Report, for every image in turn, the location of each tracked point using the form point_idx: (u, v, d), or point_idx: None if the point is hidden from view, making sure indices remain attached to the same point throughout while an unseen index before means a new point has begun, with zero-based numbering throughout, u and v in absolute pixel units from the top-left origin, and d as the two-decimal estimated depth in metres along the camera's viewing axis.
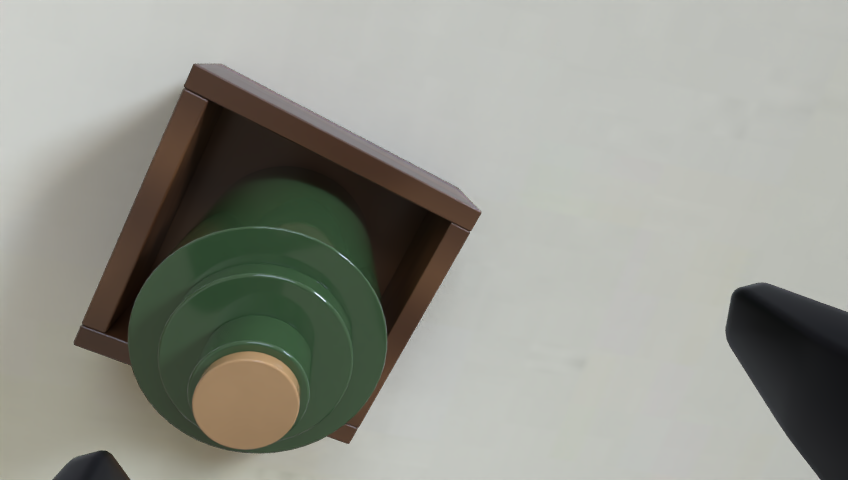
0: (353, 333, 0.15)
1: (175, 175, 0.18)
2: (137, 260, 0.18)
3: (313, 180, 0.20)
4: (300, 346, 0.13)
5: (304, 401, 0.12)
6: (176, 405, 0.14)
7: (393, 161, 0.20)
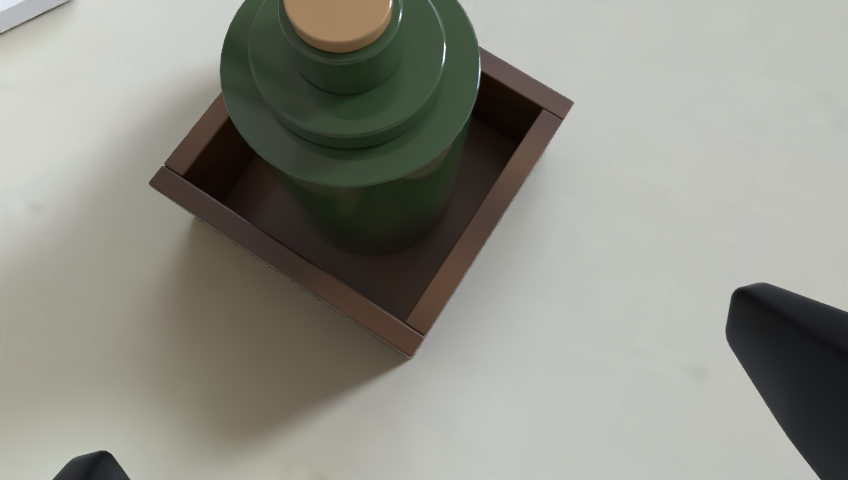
0: (446, 60, 0.14)
1: None
2: None
3: None
4: None
5: (395, 20, 0.12)
6: (254, 80, 0.13)
7: None
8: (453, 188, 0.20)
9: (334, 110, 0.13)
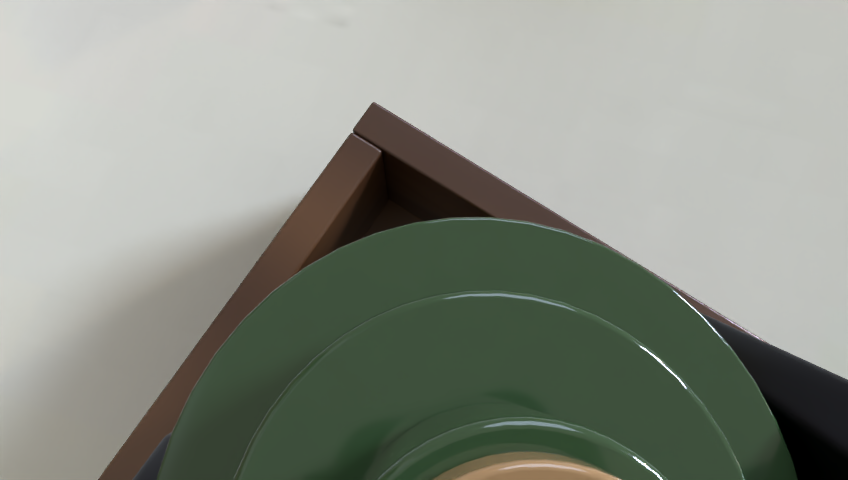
0: None
1: (309, 255, 0.11)
2: None
3: None
4: None
5: None
6: None
7: None
8: None
9: None
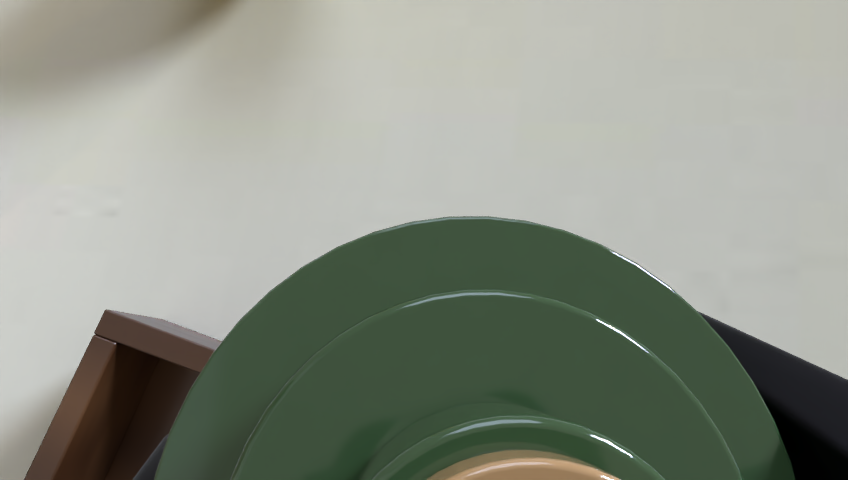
0: None
1: (78, 427, 0.17)
2: None
3: None
4: None
5: None
6: None
7: None
8: None
9: None
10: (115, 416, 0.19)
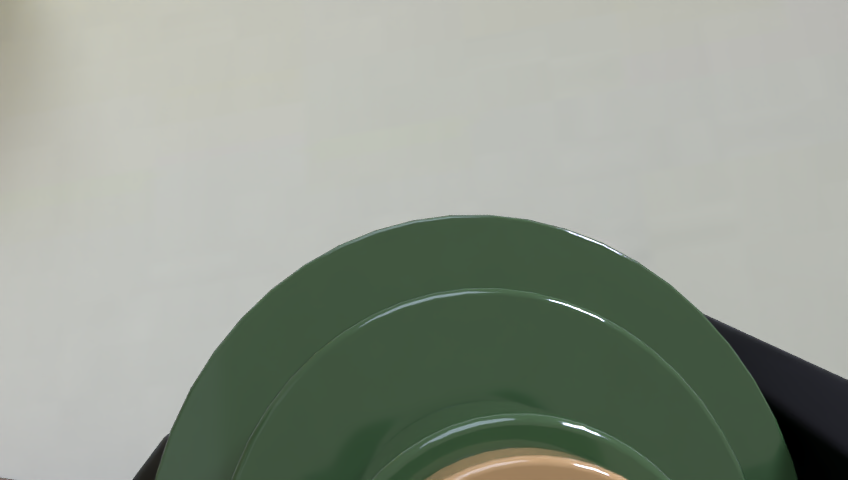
0: None
1: None
2: None
3: None
4: None
5: None
6: None
7: None
8: None
9: None
10: None
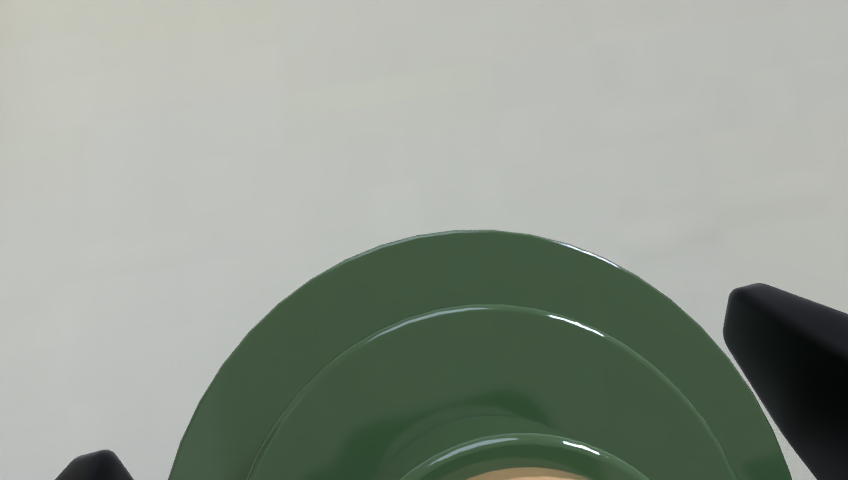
0: None
1: None
2: None
3: None
4: None
5: None
6: None
7: None
8: None
9: None
10: None
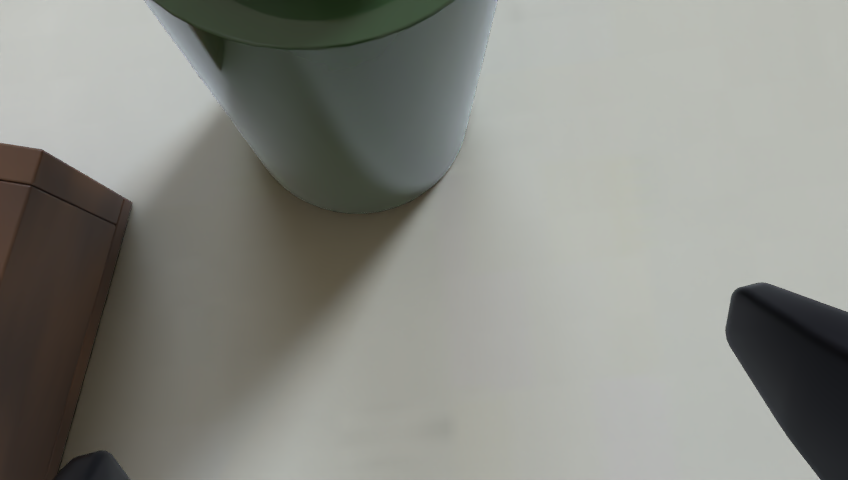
0: None
1: None
2: None
3: None
4: None
5: None
6: None
7: None
8: (468, 115, 0.14)
9: None
10: None
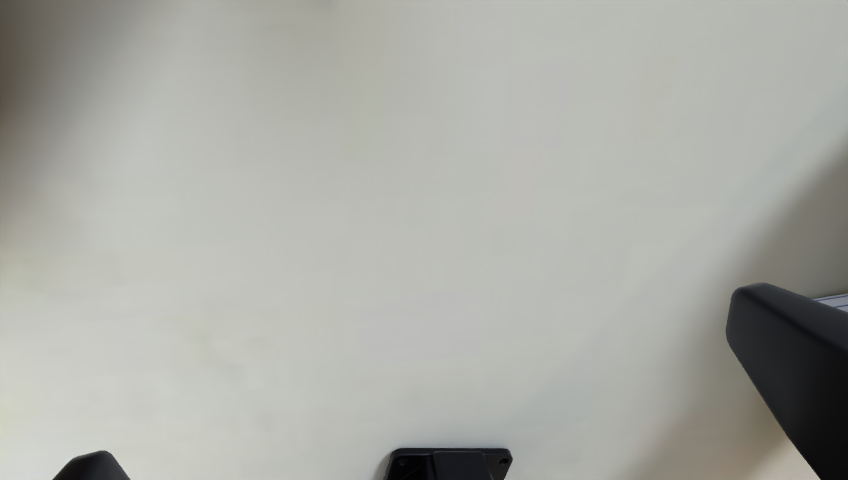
0: None
1: None
2: None
3: None
4: None
5: None
6: None
7: None
8: None
9: None
10: None
